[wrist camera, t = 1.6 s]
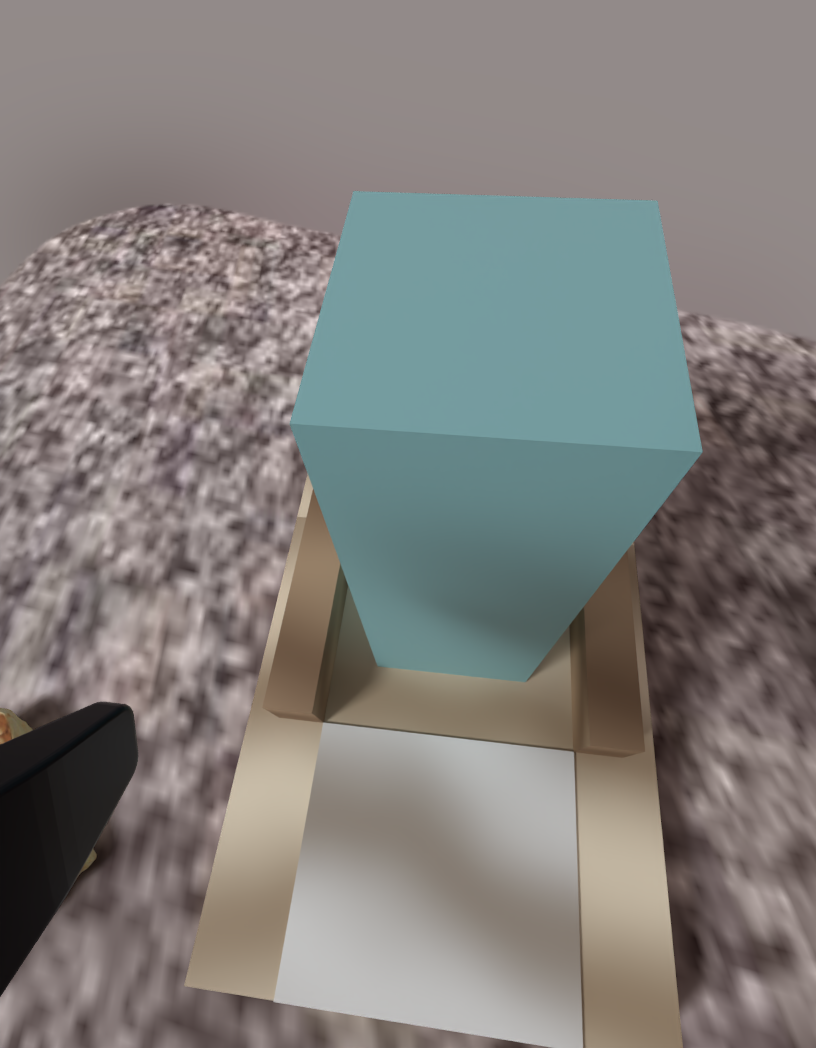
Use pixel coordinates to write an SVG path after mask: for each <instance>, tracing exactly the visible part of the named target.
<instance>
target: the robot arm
mask: <svg viewBox="0 0 816 1048" xmlns="http://www.w3.org/2000/svg"><path fill="white" fill-rule="evenodd" d="M137 762H138V746H137V738H136V730H135V721H134V714H133V711H132V709H131V708H130V706H128V705H126V704H120V703H111V702H97V703H94V704H92V705H90V706H87V707H85V708H83V709H80V710H78V711H76V712H73V713H71V714H69V715H67V716H64V717H62V718H60V719H57V720H55V721H53V722H51V723H48V724H46V725H44V726H41V727H39V728H37V729H34V730H32V731H30V732H28V733H25V734H23V735H21V736H18V737H16V738H14V739H11V740H9V741H7V742H5V743H2V744H0V997H1V995H2V994H3V992H4V990H5V989H6V987H7V986H8V984H9V983H10V981H11V980H12V978H13V977H14V975H15V974H16V972H17V971H18V969H19V968H20V966H21V965H22V963H23V962H24V960H25V959H26V957H27V956H28V954H29V953H30V951H31V949H32V948H33V946H34V945H35V943H36V942H37V940H38V939H39V937H40V936H41V934H42V933H43V931H44V930H45V928H46V927H47V925H48V924H49V922H50V921H51V919H52V918H53V916H54V915H55V913H56V911H57V910H58V908H59V907H60V905H61V904H62V902H63V900H64V899H65V897H66V896H67V894H68V892H69V891H70V889H71V887H72V886H73V884H74V882H75V881H76V879H77V877H78V875H79V874H80V872H81V870H82V868H83V866H84V865H85V863H86V861H87V859H88V857H89V855H90V854H91V852H92V850H93V848H94V846H95V844H96V842H97V841H98V839H99V837H100V835H101V833H102V831H103V830H104V828H105V826H106V824H107V822H108V820H109V819H110V817H111V815H112V813H113V811H114V809H115V807H116V806H117V804H118V802H119V800H120V798H121V796H122V795H123V793H124V791H125V789H126V787H127V785H128V784H129V782H130V780H131V778H132V776H133V774H134V772H135V769H136V766H137Z"/></svg>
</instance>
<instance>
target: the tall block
mask: <svg viewBox="0 0 816 1048" xmlns="http://www.w3.org/2000/svg"><path fill="white" fill-rule="evenodd" d="M290 426H291V429H292V431H293V434H294V437H295V440H296V442H297V445H298V448H299V451H300V453H301V456H302V459H303V462H304V464H305V467H306V470H307V473H308V476H309V478H310V481H311V484H312V487H313V489H314V492H315V495H316V498H317V500H318V503H319V506H320V509H321V511H322V514H323V517H324V520H325V522H326V525H327V528H328V531H329V534H330V536H331V539H332V542H333V545H334V547H335V550H336V553H337V556H338V558H339V561H340V564H341V567H342V569H343V572H344V575H345V578H346V580H347V583H348V586H349V589H350V592H351V594H352V597H353V600H354V603H355V605H356V608H357V611H358V614H359V616H360V619H361V622H362V625H363V627H364V630H365V633H366V636H367V638H368V641H369V644H370V647H371V650H372V652H373V655H374V658H375V661H376V663H377V666H378V667H387V668H397V669H406V670H415V671H425V672H434V673H443V674H453V675H462V676H471V677H481V678H490V679H499V680H509V681H518V682H526V681H527V680H528V678H529V677H530V676H531V674H532V673H533V672H534V671H535V669H536V668H537V667H538V665H539V664H540V663H541V661H542V660H543V659H544V658H545V656H546V655H547V654H548V652H549V651H550V650H551V648H552V647H553V646H554V645H555V643H556V642H557V641H558V639H559V638H560V637H561V635H562V634H563V633H564V632H565V630H566V629H567V628H568V626H569V625H570V624H571V623H572V621H573V620H574V619H575V617H576V616H577V615H578V613H579V612H580V611H581V610H582V608H583V607H584V606H585V604H586V603H587V602H588V600H589V599H590V598H591V597H592V595H593V594H594V593H595V591H596V590H597V589H598V587H599V586H600V585H601V584H602V582H603V581H604V580H605V578H606V577H607V576H608V574H609V573H610V572H611V571H612V569H613V568H614V567H615V565H616V564H617V563H618V561H619V560H620V559H621V558H622V556H623V555H624V554H625V552H626V551H627V550H628V548H629V547H630V546H631V545H632V543H633V542H634V541H635V539H636V538H637V537H638V535H639V534H640V533H641V532H642V530H643V529H644V528H645V526H646V525H647V524H648V522H649V521H650V520H651V519H652V517H653V516H654V515H655V513H656V512H657V511H658V509H659V508H660V507H661V506H662V504H663V503H664V502H665V500H666V499H667V498H668V496H669V495H670V494H671V493H672V491H673V490H674V489H675V487H676V486H677V485H678V483H679V482H680V481H681V480H682V478H683V477H684V476H685V474H686V473H687V472H688V470H689V469H690V468H691V467H692V465H693V464H694V463H695V461H696V460H697V459H698V458H699V456H700V455H701V454H702V452H703V451H702V446H701V440H700V435H699V429H698V424H697V418H696V413H695V407H694V401H693V396H692V390H691V385H690V379H689V374H688V368H687V362H686V357H685V351H684V346H683V340H682V335H681V329H680V324H679V318H678V312H677V307H676V301H675V296H674V290H673V285H672V279H671V273H670V268H669V263H668V257H667V252H666V246H665V240H664V235H663V229H662V224H661V218H660V213H659V207H658V201H648V200H617V199H585V198H553V197H521V196H520V197H519V196H489V195H487V196H486V195H456V194H425V193H392V192H391V193H390V192H360V191H354V192H353V196H352V199H351V203H350V206H349V210H348V213H347V217H346V221H345V224H344V228H343V231H342V235H341V239H340V242H339V246H338V250H337V253H336V257H335V261H334V264H333V268H332V272H331V275H330V279H329V282H328V286H327V290H326V293H325V297H324V301H323V304H322V308H321V312H320V315H319V319H318V322H317V326H316V330H315V333H314V337H313V341H312V344H311V348H310V352H309V355H308V359H307V362H306V366H305V370H304V373H303V377H302V381H301V384H300V388H299V392H298V395H297V399H296V403H295V406H294V410H293V413H292V417H291V421H290Z"/></svg>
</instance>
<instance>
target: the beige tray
mask: <svg viewBox="0 0 816 1048" xmlns="http://www.w3.org/2000/svg"><path fill="white" fill-rule="evenodd" d="M184 986H187V987H194V988H200V989H206V990H212V991H218V992H224V993H230V994H236V995H243V996H249V997H255V998H261V999H267V1000H273V1001H274V1002H277V1003H283V1004H289V1005H295V1006H302V1007H308V1008H314V1009H320V1010H326V1011H332V1012H338V1013H344V1014H351V1015H357V1016H363V1017H369V1018H375V1019H381V1020H387V1021H393V1022H399V1023H406V1024H412V1025H418V1026H424V1027H430V1028H436V1029H442V1030H448V1031H455V1032H461V1033H467V1034H473V1035H479V1036H485V1037H491V1038H497V1039H504V1040H510V1041H516V1042H522V1043H528V1044H534V1045H540V1046H546V1047H553V1048H683V1044H682V1034H681V1024H680V1013H679V1003H678V993H677V982H676V972H675V961H674V951H673V941H672V930H671V920H670V910H669V899H668V889H667V878H666V868H665V858H664V847H663V837H662V826H661V816H660V806H659V795H658V785H657V775H656V764H655V754H654V743H653V733H652V723H651V712H650V702H649V692H648V681H647V671H646V660H645V650H644V640H643V629H642V619H641V609H640V598H639V588H638V577H637V567H636V557H635V546H634V542H633V543H632V545H631V546H630V547H629V548H628V550H627V551H626V552H625V554H624V555H623V556H622V558H621V559H620V560H619V561H618V563H617V564H616V565H615V567H614V568H613V569H612V571H611V572H610V573H609V574H608V576H607V577H606V578H605V580H604V581H603V582H602V584H601V585H600V586H599V587H598V589H597V590H596V591H595V593H594V594H593V595H592V597H591V598H590V599H589V600H588V602H587V603H586V604H585V606H584V607H583V608H582V610H581V611H580V612H579V613H578V615H577V616H576V617H575V619H574V620H573V621H572V623H571V624H570V625H569V626H568V628H567V629H566V630H565V632H564V633H563V634H562V635H561V637H560V638H559V639H558V641H557V642H556V643H555V645H554V646H553V647H552V648H551V650H550V651H549V652H548V654H547V655H546V656H545V658H544V659H543V660H542V661H541V663H540V664H539V665H538V667H537V668H536V669H535V671H534V672H533V673H532V674H531V676H530V677H529V678H528V680H527V681H526V682H518V681H509V680H499V679H490V678H481V677H471V676H462V675H453V674H443V673H434V672H425V671H415V670H406V669H397V668H387V667H378V666H377V663H376V661H375V658H374V655H373V652H372V650H371V647H370V644H369V641H368V638H367V636H366V633H365V630H364V627H363V625H362V622H361V619H360V616H359V614H358V611H357V608H356V605H355V603H354V600H353V597H352V594H351V592H350V589H349V586H348V583H347V580H346V578H345V575H344V572H343V569H342V567H341V564H340V561H339V558H338V556H337V553H336V550H335V547H334V545H333V542H332V539H331V536H330V534H329V531H328V528H327V525H326V522H325V520H324V517H323V514H322V511H321V509H320V506H319V503H318V500H317V498H316V495H315V492H314V489H313V487H312V484H311V481H310V478H309V476H308V475H307V479H306V483H305V487H304V491H303V495H302V500H301V504H300V508H299V512H298V516H297V520H296V524H295V529H294V533H293V537H292V541H291V545H290V549H289V553H288V558H287V562H286V566H285V570H284V574H283V578H282V582H281V587H280V591H279V595H278V599H277V603H276V607H275V612H274V616H273V620H272V624H271V628H270V632H269V636H268V641H267V645H266V649H265V653H264V657H263V661H262V665H261V670H260V674H259V678H258V682H257V686H256V690H255V694H254V699H253V703H252V707H251V711H250V715H249V719H248V723H247V728H246V732H245V736H244V740H243V744H242V748H241V752H240V757H239V761H238V765H237V769H236V773H235V777H234V781H233V786H232V790H231V794H230V798H229V802H228V806H227V810H226V815H225V819H224V823H223V827H222V831H221V835H220V839H219V844H218V848H217V852H216V856H215V860H214V864H213V869H212V873H211V877H210V881H209V885H208V889H207V893H206V898H205V902H204V906H203V910H202V914H201V918H200V922H199V927H198V931H197V935H196V939H195V943H194V947H193V951H192V956H191V960H190V964H189V968H188V972H187V976H186V980H185V985H184Z"/></svg>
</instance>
